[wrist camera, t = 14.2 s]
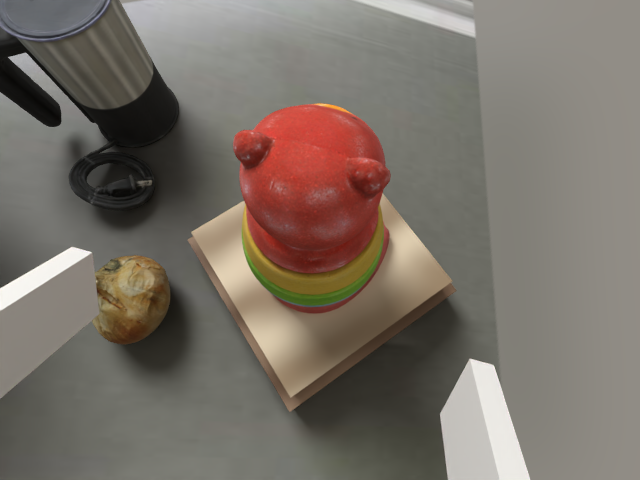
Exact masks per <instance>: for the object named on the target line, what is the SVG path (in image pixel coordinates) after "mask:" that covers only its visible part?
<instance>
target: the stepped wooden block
mask: <svg viewBox="0 0 640 480" xmlns="http://www.w3.org/2000/svg"><path fill="white" fill-rule="evenodd" d="M380 206H381V211H382V217H383V222H384V225H385V227H386V228H387V229H388V230H389V234H390V239H389V244H388V248H387V251H386V254H385V256H384V259H383V261H382V263H381V265H380V267H379V269H378V271H377V272H376V274H375V275H374V277H373V278H372V280H371V281H370V282H369V283H368V285H367V286H366V287H365V288H364V289H363V290H362V291H361V292H360V293H359V294H358V295H357V296H355V297H354V298H353V299H352V300H350V301H349V302H348V303H346V304H345V305H343V306H341V307H340V308H337V309H335V310H332V311H329V312H326V313H317V314H312V313H304V312H299V311H296V310H294V309H291V308H289V307H287V306H286V305H284V304H282V303H281V302H280V301H279V300H277V299H276V298H275V297H274V295H273V294H271V293H270V292H269V291H268V290H267V289H266V288H264V287H263V286H262V285H261V283H260V282H259V281H258V280H257V279H256V277H255V276H254V274H253V273H252V271H251V269H250V267H249V265H248V263H247V260H246V257H245V254H244V250H243V244H242V220H243V212H244V207H245V201H243V202H241V203H239V204H238V205H236V206H234V207H233V208H231V209H229V210H228V211H226V212H224V213H223V214H221V215H219V216H218V217H216V218H214V219H212V220H211V221H209V222H207V223H206V224H204V225H202V226H201V227H199V228H197V229H196V230H194V231H192V232H191V233H192V235H193V237H191V238H189V239H188V242H189V243H190V245H191V247H192V248H193V250H194V252H195V254H196V255H197V257H198V259H199V260H200V262H201V264H202V265H203V267H204V269H205V270H206V272H207V274H208V275H209V277H210V279H211V280H212V282H213V284H214V286H215V287H216V289H217V291H218V292H219V294H220V296H221V297H222V299H223V301H224V302H225V304H226V306H227V307H228V309H229V311H230V312H231V314H232V316H233V318H234V319H235V321H236V323H237V324H238V326H239V328H240V329H241V331H242V333H243V334H244V336H245V338H246V339H247V341H248V343H249V345H250V346H251V348H252V350H253V351H254V353H255V355H256V356H257V358H258V360H259V361H260V363H261V365H262V366H263V368H264V370H265V371H266V373H267V375H268V377H269V378H270V380H271V382H272V383H273V385H274V387H275V388H276V390H277V392H278V393H279V395H280V397H281V398H282V400H283V402H284V403H285V405H286V407H287V409H288V410H289V412H291V411H292V410H293V409H295V408H296V407H297V406H299V405H300V404H302V403H303V402H304V401H306V400H307V399H308V398H310V397H311V396H313V395H314V394H315V393H317V392H318V391H319V390H321V389H322V388H324V387H325V386H326V385H328V384H329V383H330V382H332V381H333V380H335V379H336V378H337V377H339V376H340V375H341V374H343V373H344V372H346V371H347V370H348V369H350V368H351V367H352V366H354V365H355V364H357V363H358V362H359V361H361V360H362V359H363V358H365V357H366V356H368V355H369V354H370V353H372V352H373V351H374V350H376V349H377V348H379V347H380V346H381V345H383V344H384V343H385V342H387V341H388V340H390V339H391V338H392V337H394V336H395V335H396V334H398V333H399V332H401V331H402V330H403V329H405V328H406V327H407V326H409V325H410V324H412V323H413V322H414V321H416V320H417V319H418V318H420V317H421V316H423V315H424V314H425V313H427V312H428V311H429V310H431V309H432V308H434V307H435V306H436V305H438V304H439V303H440V302H442V301H443V300H445V299H446V298H447V297H449V296H450V295H451V294H453V293H454V292H456V291H457V290H456V289H455V288H454V287H453V285H452V284H451V282H452V280H451V279H450V278H449V276H448V275H447V274H446V273H445V271H444V270H443V269H442V267H441V266H440V265H439V264H438V262H437V261H436V260H435V259H434V257H433V256H432V255H431V254H430V252H429V251H428V250H427V249H426V247H425V246H424V245H423V244H422V242H421V241H420V240H419V239H418V237H417V236H416V235H415V234H414V232H413V231H412V230H411V228H410V227H409V226H408V225H407V223H406V222H405V221H404V220H403V218H402V217H401V216H400V215H399V213H398V212H397V211H396V210H395V208H394V207H393V206H392V205H391V203H390V202H389V201H388V200H387V198H386V197H385V196H384V194H383V193H382V197H381V200H380Z"/></svg>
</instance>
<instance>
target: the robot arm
mask: <svg viewBox="0 0 640 480" xmlns="http://www.w3.org/2000/svg"><path fill="white" fill-rule="evenodd" d="M98 315H99V306H98V297H97V289H96V280H95V271H94V262H93V254H92V252H89V251H85V250H82V249H78V248H74V247H71V248H69V249H68V250H66V251H64V252H62V253H61V254H59V255H57V256H55V257H54V258H52V259H50V260H49V261H47V262H45V263H43V264H42V265H40V266H38V267H36V268H35V269H33V270H31V271H29V272H28V273H26V274H24V275H23V276H21V277H19V278H17V279H16V280H14V281H12V282H10V283H9V284H7V285H5V286H3V287H2V288H0V399H1V398H2V397H3V396H4V395H5V394H6V393H8V392H9V391H10V390H11V389H12V388H13V387H15V386H16V385H17V384H18V383H19V382H20V381H22V380H23V379H24V378H25V377H26V376H27V375H29V374H30V373H31V372H32V371H33V370H34V369H36V368H37V367H38V366H39V365H40V364H41V363H43V362H44V361H45V360H46V359H47V358H48V357H50V356H51V355H52V354H53V353H54V352H55V351H57V350H58V349H59V348H60V347H61V346H63V345H64V344H65V343H66V342H67V341H68V340H70V339H71V338H72V337H73V336H74V335H75V334H77V333H78V332H79V331H80V330H81V329H82V328H84V327H85V326H86V325H87V324H88V323H89V322H91V321H92V320H93V319H94V318H95V317H96V316H98ZM440 418H441V426H442V434H443V442H444V450H445V459H446V467H447V475H448V480H530V477H529V474H528V471H527V468H526V465H525V461H524V458H523V455H522V452H521V449H520V446H519V443H518V440H517V437H516V433H515V431H514V427H513V424H512V421H511V418H510V414H509V411H508V408H507V405H506V402H505V399H504V396H503V392H502V389H501V386H500V383H499V380H498V377H497V374H496V371H495V367H494V365H491V364H488V363H484V362H480V361H477V360H473V359H469V361H468V363H467V365H466V367H465V368H464V370H463V372H462V374H461V376H460V378H459V380H458V381H457V383H456V385H455V387H454V389H453V391H452V393H451V395H450V396H449V398H448V400H447V402H446V404H445V406H444V408H443V409H442V411H441V413H440Z"/></svg>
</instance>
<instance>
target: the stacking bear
mask: <svg viewBox="0 0 640 480" xmlns="http://www.w3.org/2000/svg"><path fill="white" fill-rule="evenodd" d="M233 148H234V152H235V155H236V157H237V158H238V159H239V160H240V161H241V165H240V186H241V192H242V195H243V198H244V201H245V207H244V212H243V220H242V244H243V250H244V254H245V257H246V260H247V263H248V265H249V267H250V269H251V271H252V273H253V274H254V276H255V277H256V279H257V280H258V281H259V282H260V283H261V285H262V286H263V287H264V288H266V289H267V290H268V291H269V292H270V293H271V294H273V295H274V297H275V298H276V299H277V300H279V301H280V302H281V303H282V304H284V305H286V306H287V307H289V308H291V309H294V310H296V311H299V312H304V313H312V314H317V313H326V312H329V311H332V310H335V309H337V308H340V307H341V306H343V305H345V304H346V303H348V302H349V301H350V300H352V299H353V298H354V297H355V296H357V295H358V294H359V293H360V292H361V291H362V290H363V289H364V288H365V287H366V286H367V285H368V283H369V282H370V281H371V280H372V278H373V277H374V275H375V274H376V272H377V271H378V269H379V267H380V265H381V263H382V261H383V259H384V256H385V254H386V251H387V248H388V244H389V239H390V234H389V230H388V229H387V228H386V227H385V225H384V222H383V217H382V211H381V206H380V200H381V197H382V193H383V189H384V188H385V186H386V185H387V184H388V182H389V181H390V177H391V174H390V171H389V170H388V169H387V168H386V167H385V158H384V153H383V149H382V146H381V144H380V142H379V139H378V137H377V136H376V135H375V133H374V132H373V130H372V129H371V128H370V127H369V126H368V125H367V124H366V123H365V122H364V121H362V120H361V119H360V118H358V117H357V116H355V115H353V114H351V113H350V112H348V111H347V110H345V109H343V108H340V107H338V106H334V105H329V104H310V105H299V106H293V107H288V108H284V109H281V110H278V111H275V112H273V113H271V114H270V115H268V116H267V117H265V118H264V119H263V120H262V121H261V122H260V123H259V124H258V125H257V126H256V127H255V129H254V130H243V131H240V132H238V133H237V134H236V135H235V138H234V142H233Z"/></svg>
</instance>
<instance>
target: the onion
mask: <svg viewBox="0 0 640 480" xmlns="http://www.w3.org/2000/svg"><path fill="white" fill-rule="evenodd" d="M95 280H96V289H97V297H98V306H99V315H98V316H96V317H95V318H94V319H93V320H92V322H93V325H94V326H95V328H96V329H97V330H98V332H99V333H100V334H101V335H102V336H103V337H104V338H105V339H107V340H108V341H110V342H113V343H117V344H130V343H134V342H138V341H140V340H142V339H144V338H145V337H147V336H148V335H149V334H151V333H152V332H153V331H154V330H155V329H156V328H157V327H158V329H159V324H160V323H161V322H162V320H163V319H164V317H165V315H166V314H167V310H168V307H169V304H170V286H169V281H168V277H167V275H166V273H165V270H164V268H163V267H162V266H160V265H159V264H158V263H157V262H155V261H154V260H153V259H150V258H147V257H143V256H136V255H134V256H124V257H119V258H116V259H111V260H110V262H108V263H107V264H106V265H104V266H103V267H102V268H101V269H100V270H98V271H97V272H95Z"/></svg>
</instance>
